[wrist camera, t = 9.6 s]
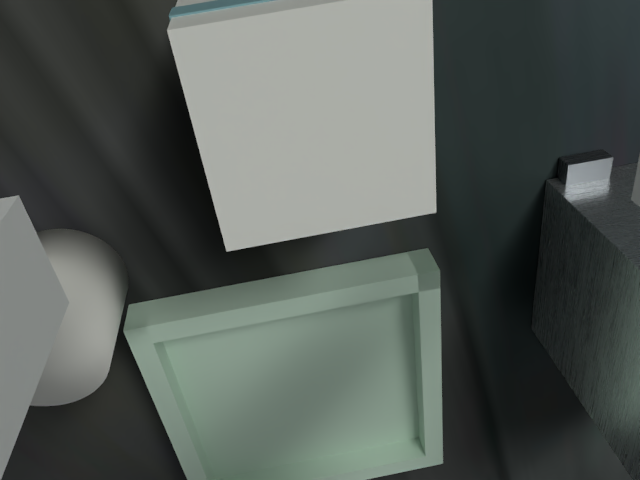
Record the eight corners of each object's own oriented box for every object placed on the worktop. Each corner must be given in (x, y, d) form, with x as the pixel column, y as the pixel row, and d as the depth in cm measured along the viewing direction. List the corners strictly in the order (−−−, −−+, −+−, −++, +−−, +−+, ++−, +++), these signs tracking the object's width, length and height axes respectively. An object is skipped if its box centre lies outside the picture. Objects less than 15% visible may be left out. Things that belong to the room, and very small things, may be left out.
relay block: (224, 140, 23) (224, 253, 16) (184, -27, 19) (164, 28, 13) (375, 113, 23) (438, 213, 16) (362, -56, 20) (434, -17, 13)
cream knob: (34, 330, 26) (-2, 417, 22) (-15, 240, 24) (-67, 320, 19) (143, 309, 26) (128, 391, 22) (107, 218, 24) (81, 292, 20)
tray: (202, 485, 34) (201, 513, 32) (128, 304, 26) (123, 331, 25) (433, 437, 35) (442, 463, 33) (427, 247, 27) (439, 270, 25)
